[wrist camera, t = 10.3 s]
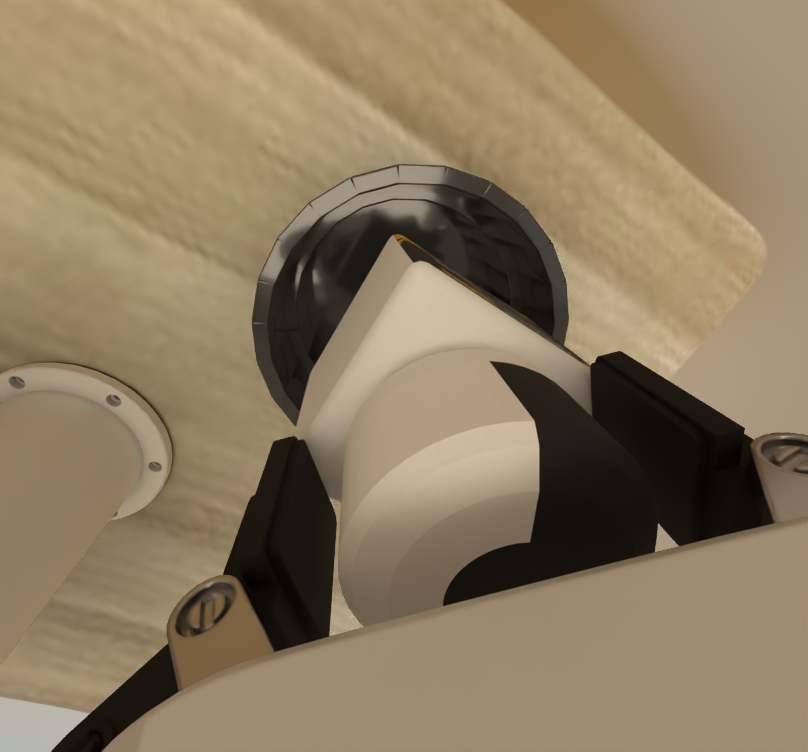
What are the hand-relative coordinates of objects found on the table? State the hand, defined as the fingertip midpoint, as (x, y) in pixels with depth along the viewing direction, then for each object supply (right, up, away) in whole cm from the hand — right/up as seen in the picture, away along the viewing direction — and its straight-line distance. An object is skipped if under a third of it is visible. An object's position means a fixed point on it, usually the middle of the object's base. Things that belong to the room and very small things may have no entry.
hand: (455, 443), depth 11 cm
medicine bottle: (-1, +3, +7) cm, 8 cm away
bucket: (-2, +7, +16) cm, 17 cm away
